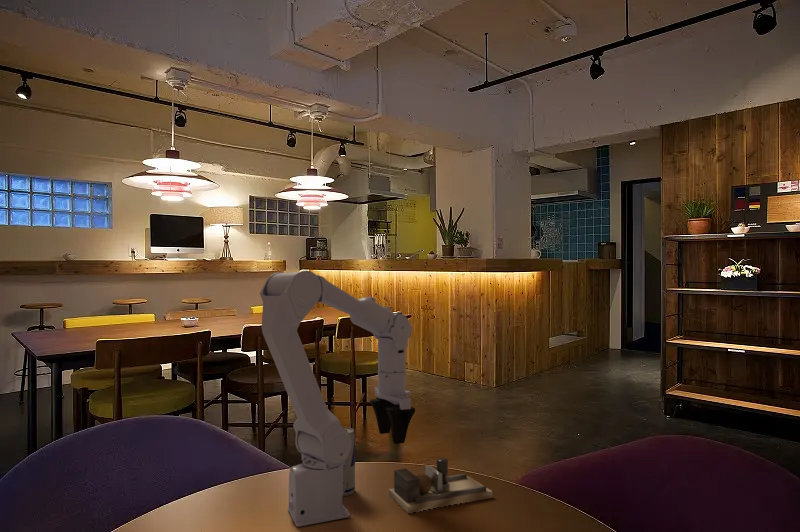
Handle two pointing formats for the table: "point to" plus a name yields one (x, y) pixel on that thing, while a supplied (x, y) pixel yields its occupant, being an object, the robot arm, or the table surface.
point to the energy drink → (349, 467)
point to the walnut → (424, 483)
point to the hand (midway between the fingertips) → (391, 437)
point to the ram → (439, 476)
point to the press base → (413, 501)
